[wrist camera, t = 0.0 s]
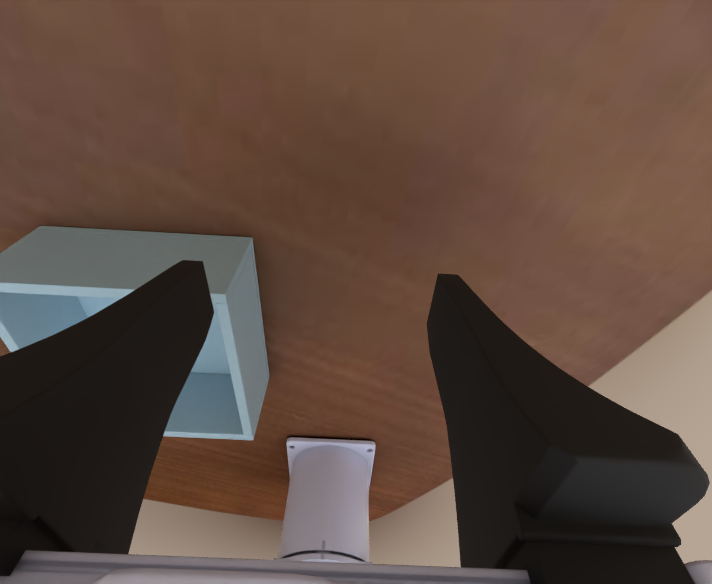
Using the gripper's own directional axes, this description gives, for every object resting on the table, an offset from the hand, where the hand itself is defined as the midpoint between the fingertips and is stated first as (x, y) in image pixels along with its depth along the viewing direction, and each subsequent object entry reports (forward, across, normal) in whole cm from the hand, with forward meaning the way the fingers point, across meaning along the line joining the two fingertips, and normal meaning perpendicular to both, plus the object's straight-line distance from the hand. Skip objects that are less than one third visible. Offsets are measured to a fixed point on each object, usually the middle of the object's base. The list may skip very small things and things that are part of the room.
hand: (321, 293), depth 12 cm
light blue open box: (+10, +11, +10) cm, 18 cm away
